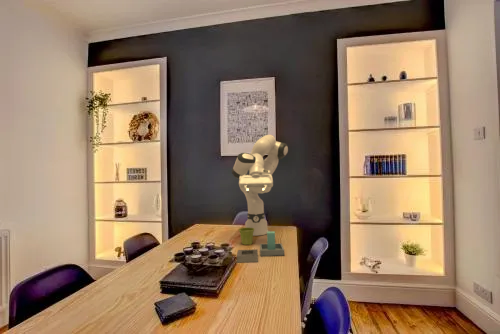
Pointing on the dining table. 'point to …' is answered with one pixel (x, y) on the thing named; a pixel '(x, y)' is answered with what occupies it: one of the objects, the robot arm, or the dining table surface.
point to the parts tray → (277, 252)
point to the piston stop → (271, 240)
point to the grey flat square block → (247, 256)
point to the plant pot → (246, 235)
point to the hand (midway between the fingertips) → (255, 191)
